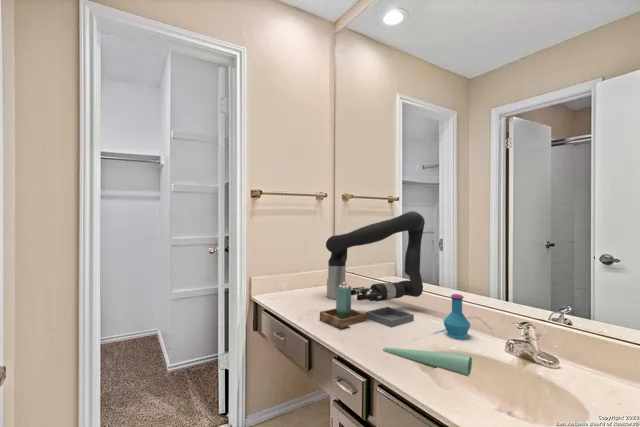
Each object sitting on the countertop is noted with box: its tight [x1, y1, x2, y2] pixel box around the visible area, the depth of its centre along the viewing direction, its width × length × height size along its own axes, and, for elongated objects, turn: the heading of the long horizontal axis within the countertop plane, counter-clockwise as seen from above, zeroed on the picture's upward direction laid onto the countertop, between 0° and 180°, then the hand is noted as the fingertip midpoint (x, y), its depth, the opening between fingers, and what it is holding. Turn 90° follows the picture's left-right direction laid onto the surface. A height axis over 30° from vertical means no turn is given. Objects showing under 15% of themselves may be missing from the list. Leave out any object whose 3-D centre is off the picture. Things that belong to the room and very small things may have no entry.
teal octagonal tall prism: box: [335, 281, 352, 319], centre depth 139 cm, size 6×6×16 cm
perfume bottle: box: [443, 293, 471, 339], centre depth 125 cm, size 9×9×15 cm
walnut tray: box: [319, 308, 368, 331], centre depth 138 cm, size 14×14×4 cm
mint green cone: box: [382, 347, 473, 377], centre depth 102 cm, size 5×6×27 cm
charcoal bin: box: [365, 306, 415, 328], centre depth 139 cm, size 14×14×4 cm
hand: (352, 295), depth 140 cm, fingers open, 8 cm apart
